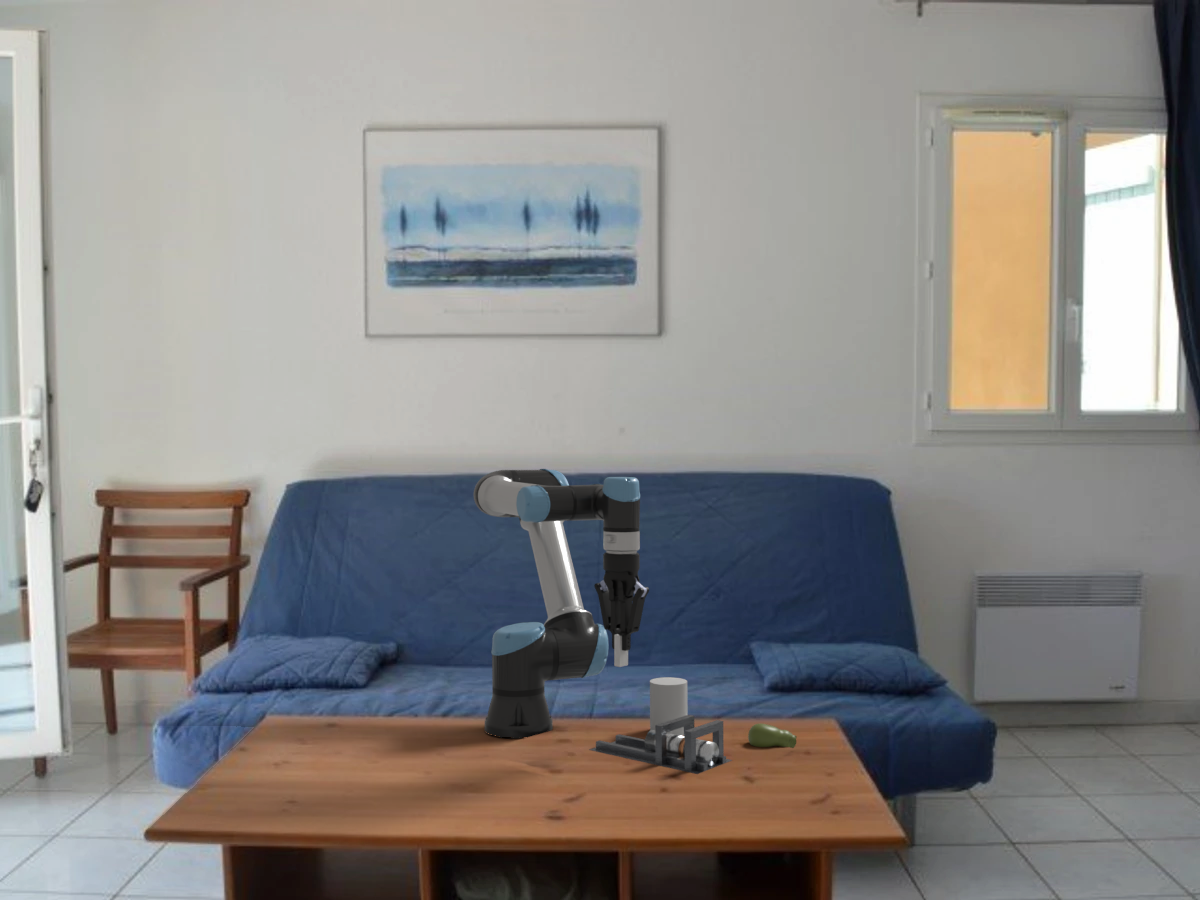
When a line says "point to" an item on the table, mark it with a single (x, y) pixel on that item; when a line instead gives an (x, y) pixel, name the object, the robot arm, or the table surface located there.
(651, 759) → the collar rail
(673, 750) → the tube
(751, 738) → the pear
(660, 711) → the white cylinder
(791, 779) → the table surface
